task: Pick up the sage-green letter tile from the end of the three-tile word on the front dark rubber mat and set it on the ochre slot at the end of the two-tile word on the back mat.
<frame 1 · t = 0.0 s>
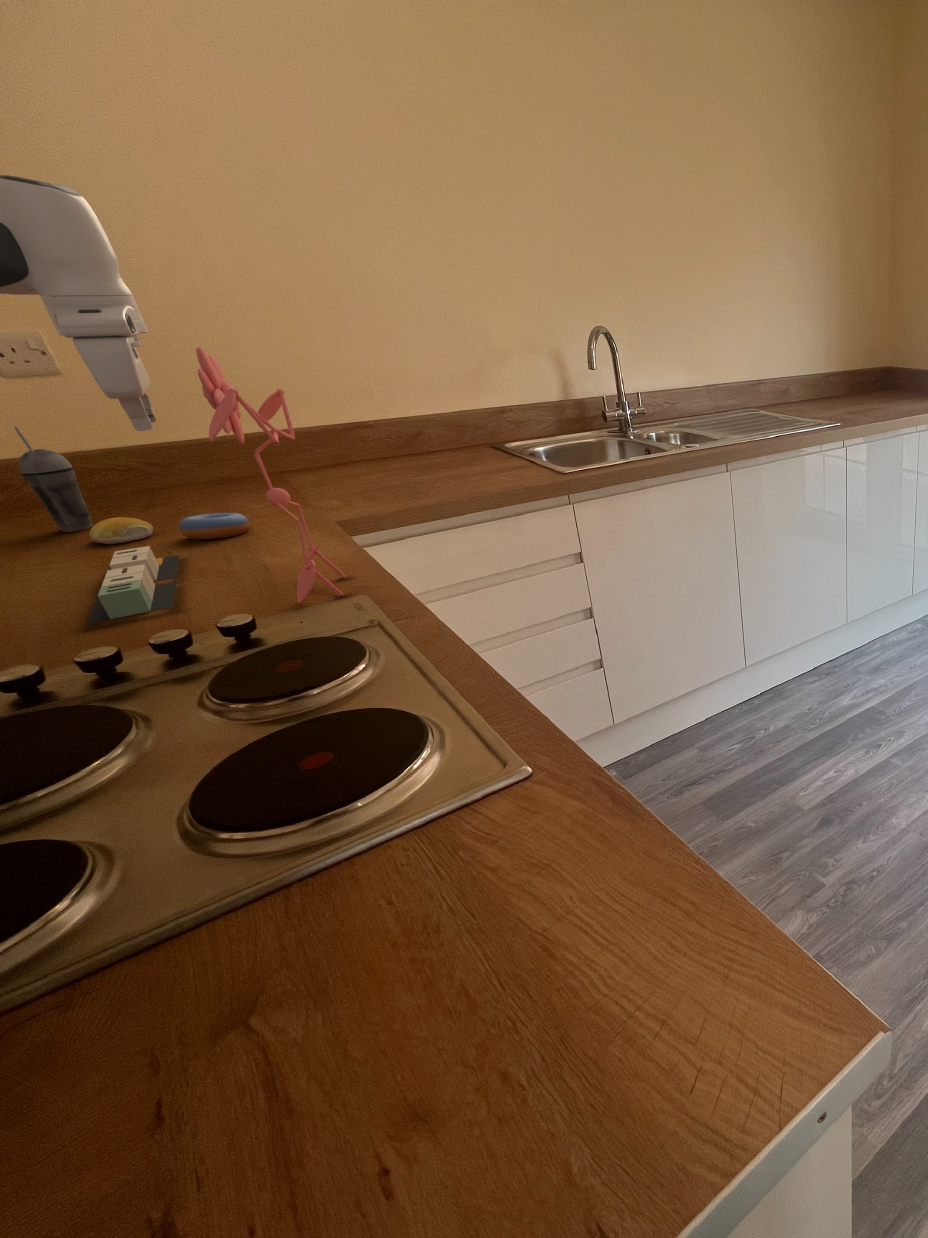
hand: (147, 426, 100), 24 cm above the counter, tool pointing down, fingers open, 8 cm apart
tile T: (136, 592, 106), point 1 cm above the counter, touching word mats
tile S: (131, 611, 100), point 1 cm above the counter, touching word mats
bread roll: (126, 539, 133), on the counter
doughnut: (220, 538, 133), on the counter
beverage cup: (78, 529, 140), on the counter
tile P: (141, 572, 114), point 1 cm above the counter, touching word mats
figurine: (291, 596, 106), on the counter
tile U: (139, 580, 111), point 1 cm above the counter, touching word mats
tile A: (134, 601, 103), point 1 cm above the counter, touching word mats
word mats: (140, 588, 109), on the counter
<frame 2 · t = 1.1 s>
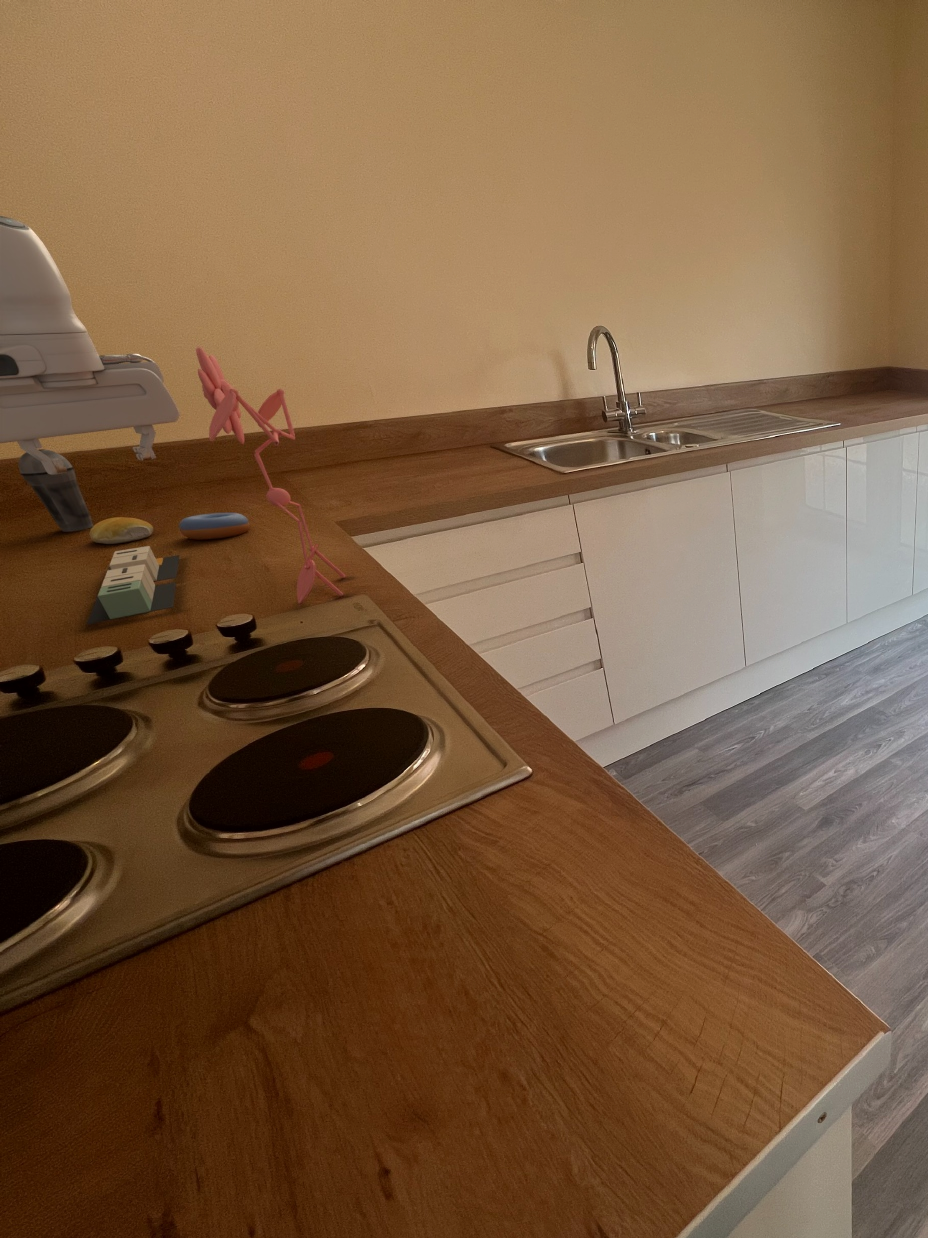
hand: (104, 466, 95), 20 cm above the counter, tool pointing down, fingers open, 8 cm apart
nothing on the counter moved.
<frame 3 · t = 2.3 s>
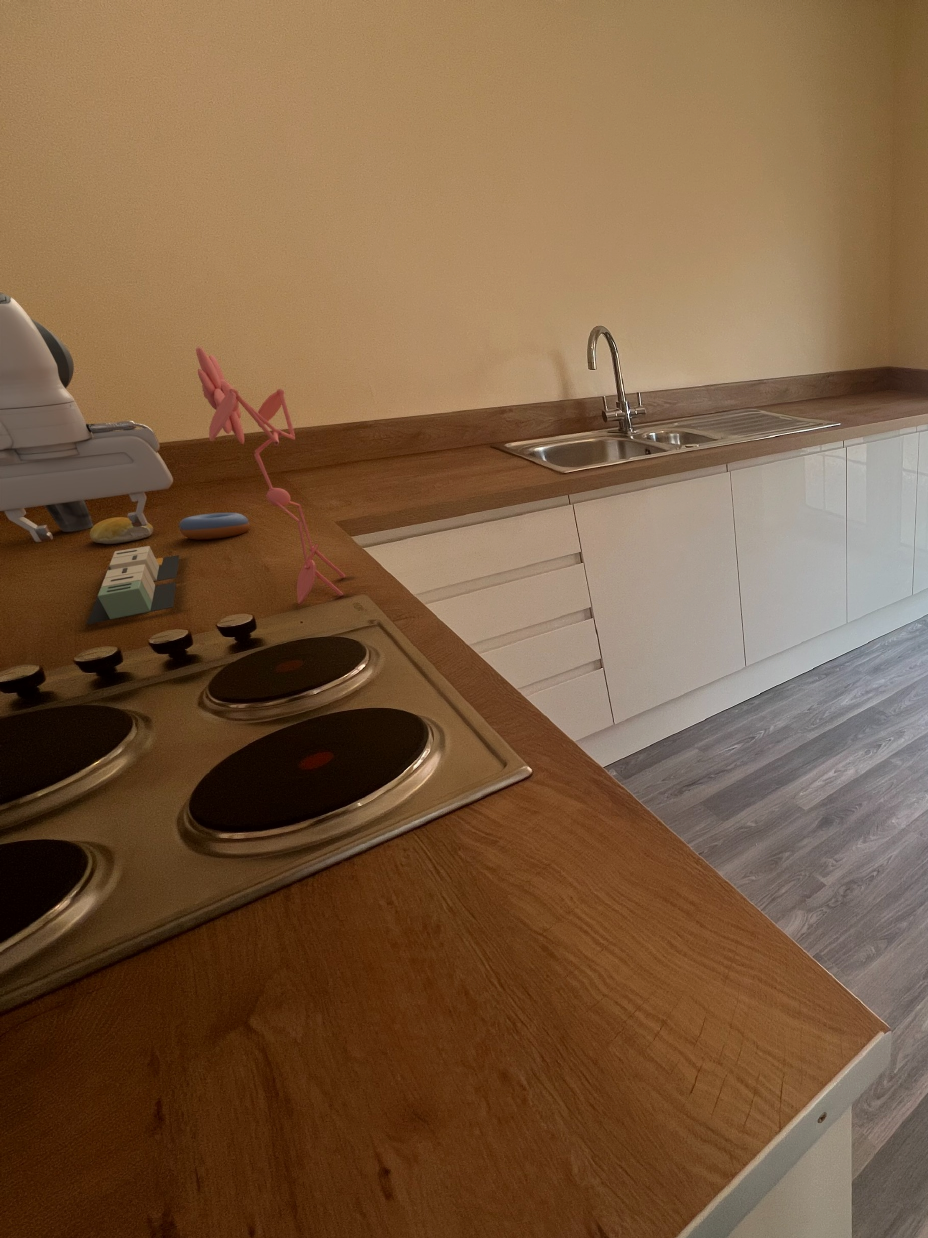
hand: (94, 532, 95), 12 cm above the counter, tool pointing down, fingers open, 8 cm apart
nothing on the counter moved.
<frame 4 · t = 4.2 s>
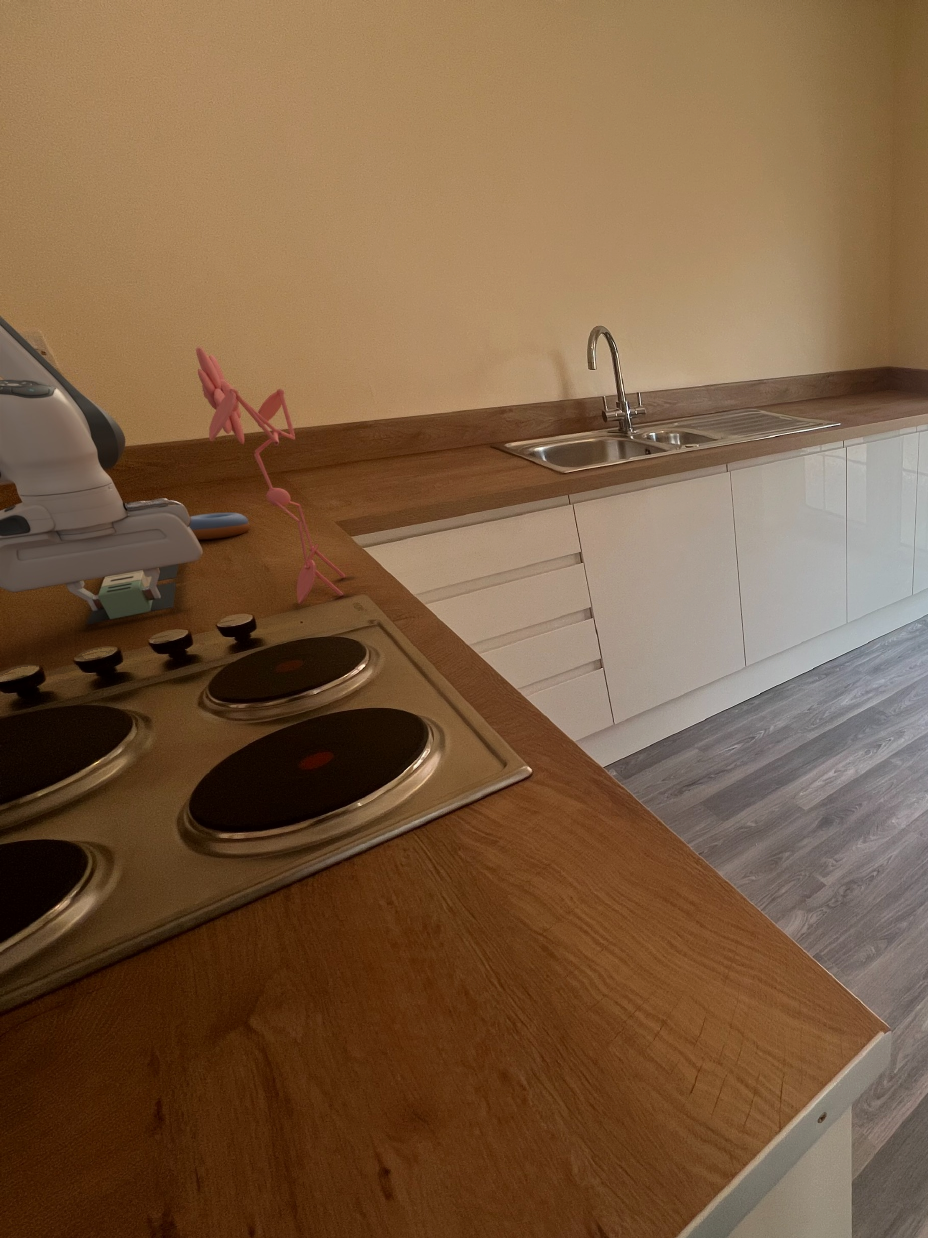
hand: (127, 603, 99), 2 cm above the counter, tool pointing down, fingers closed on tile S, 4 cm apart
tile S: (131, 610, 100), point 1 cm above the counter, touching gripper, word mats
everything else where it was.
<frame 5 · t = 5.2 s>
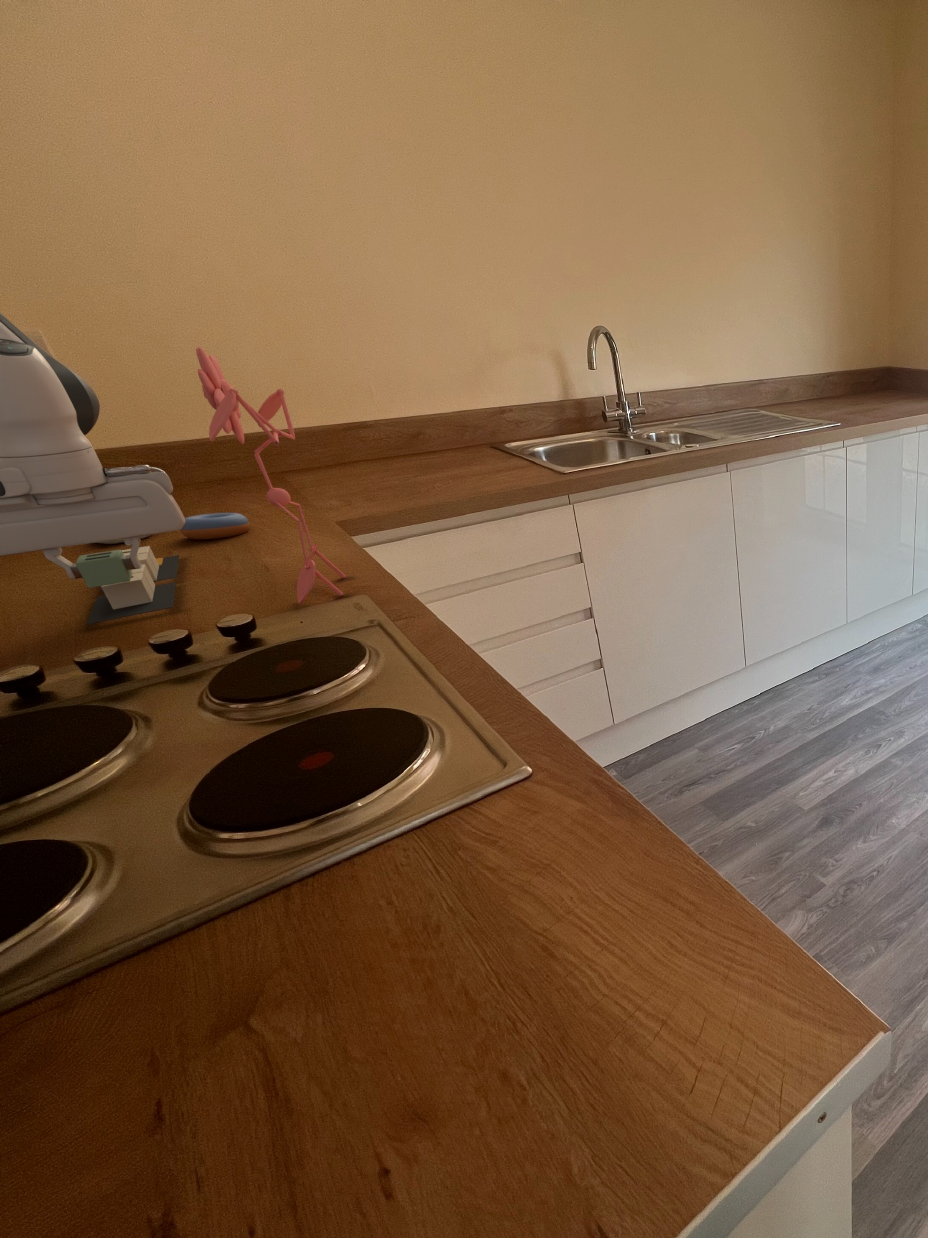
hand: (106, 573, 97), 7 cm above the counter, tool pointing down, fingers closed on tile S, 4 cm apart
tile S: (111, 580, 97), point 5 cm above the counter, touching gripper
everything else where it was.
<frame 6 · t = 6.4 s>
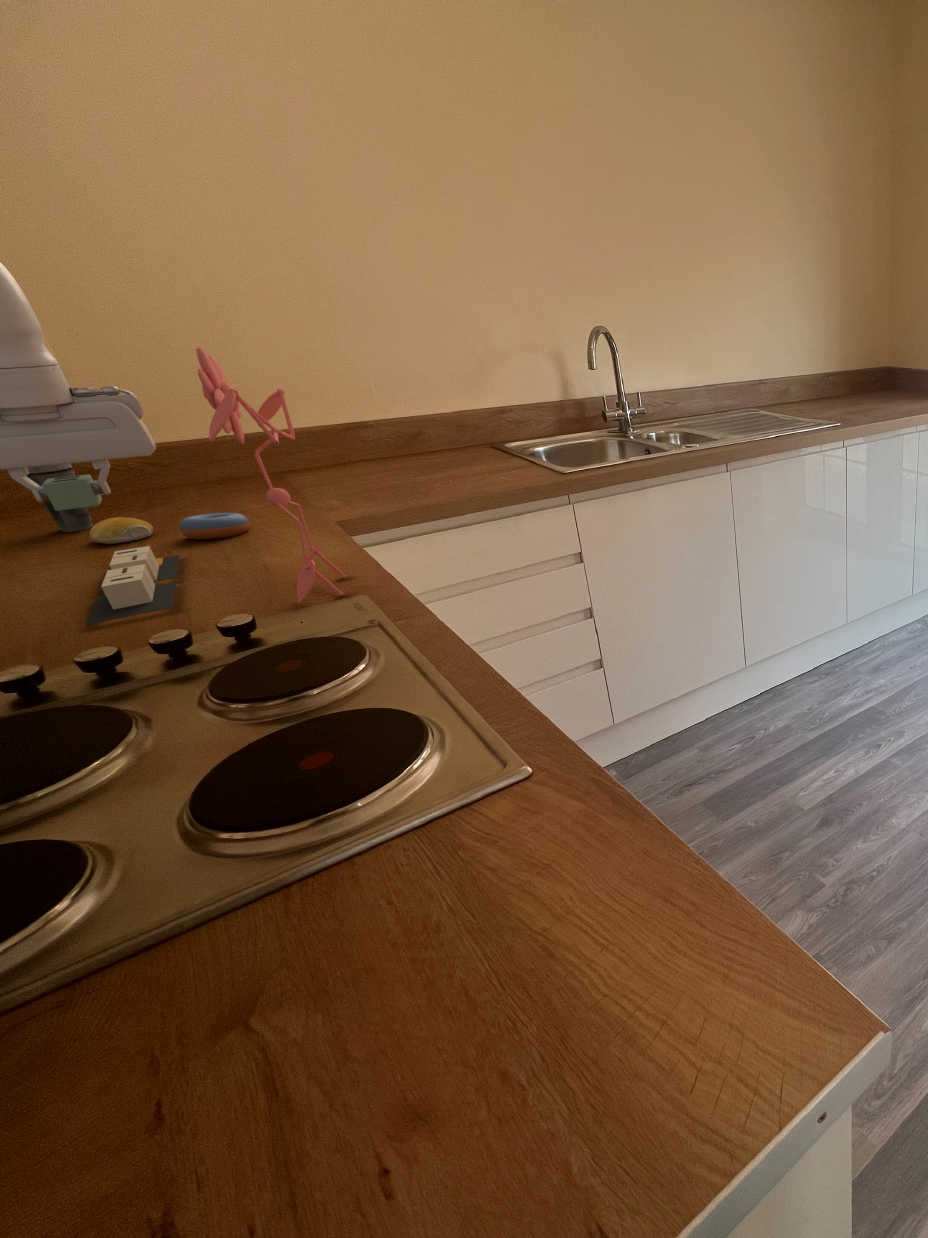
hand: (75, 497, 95), 16 cm above the counter, tool pointing down, fingers closed on tile S, 4 cm apart
tile S: (79, 505, 96), point 15 cm above the counter, touching gripper
everything else where it was.
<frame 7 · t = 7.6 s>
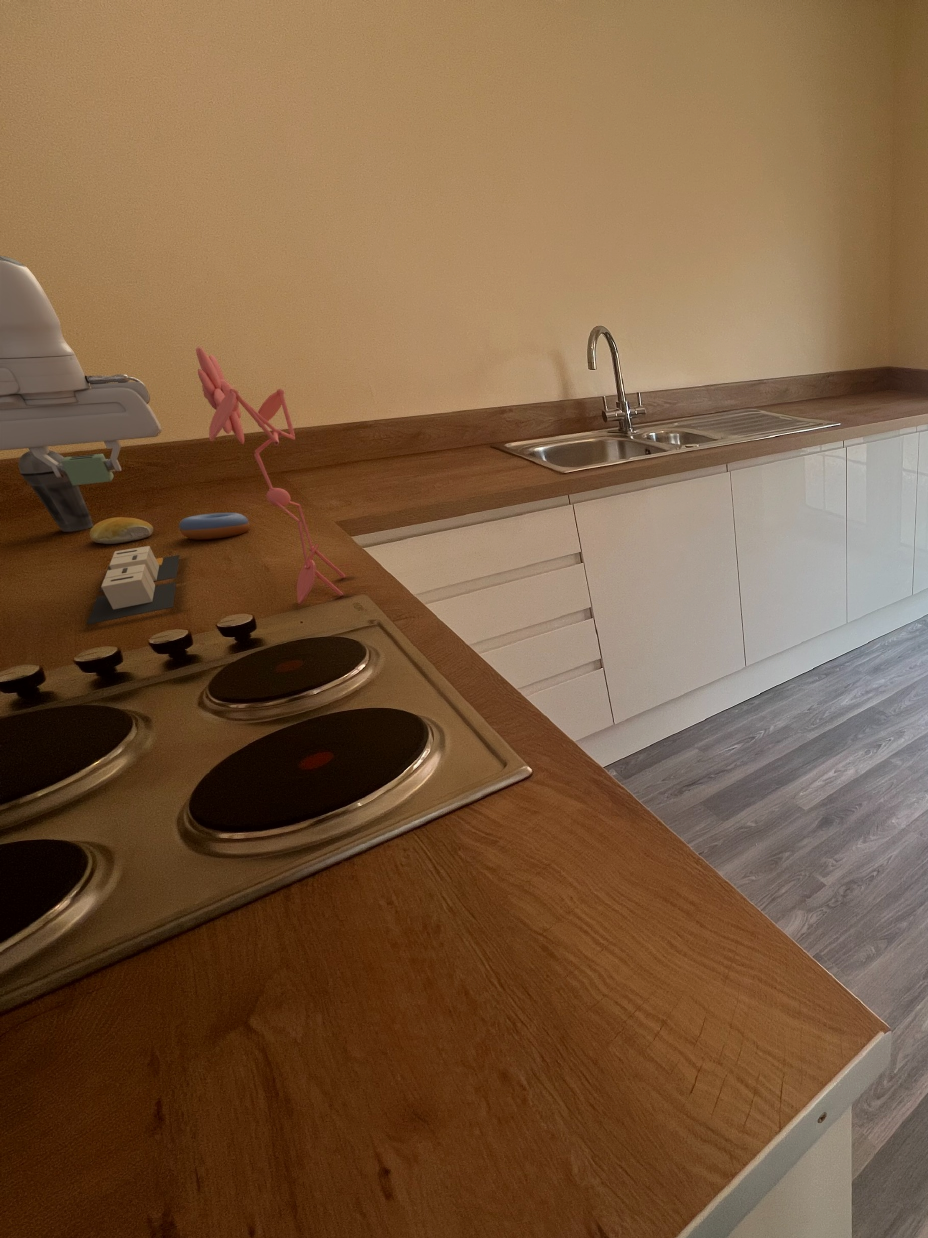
hand: (90, 473, 107), 17 cm above the counter, tool pointing down, fingers closed on tile S, 4 cm apart
tile S: (94, 481, 107), point 16 cm above the counter, touching gripper
everything else where it was.
when the fingers open (2 cm above the counter, at t = 11.0 s): tile S stays where it is, resting on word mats.
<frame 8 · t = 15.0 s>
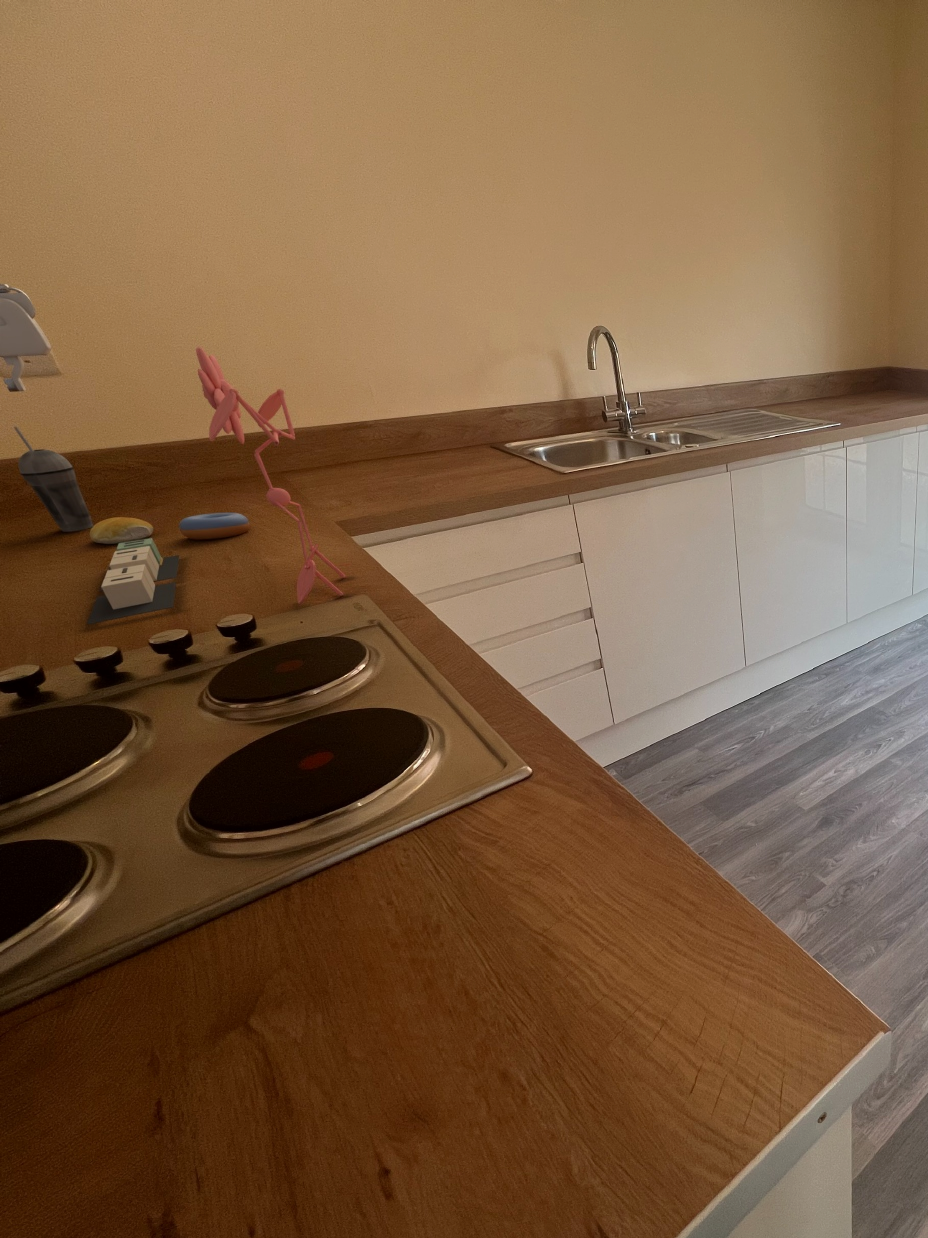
tile S: (144, 563, 118), point 1 cm above the counter, touching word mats
everything else where it was.
at the end: tile S 0.2 cm from the target spot, point 0.7 cm above the counter; tile S tilted 0°; the gripper is holding nothing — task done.
